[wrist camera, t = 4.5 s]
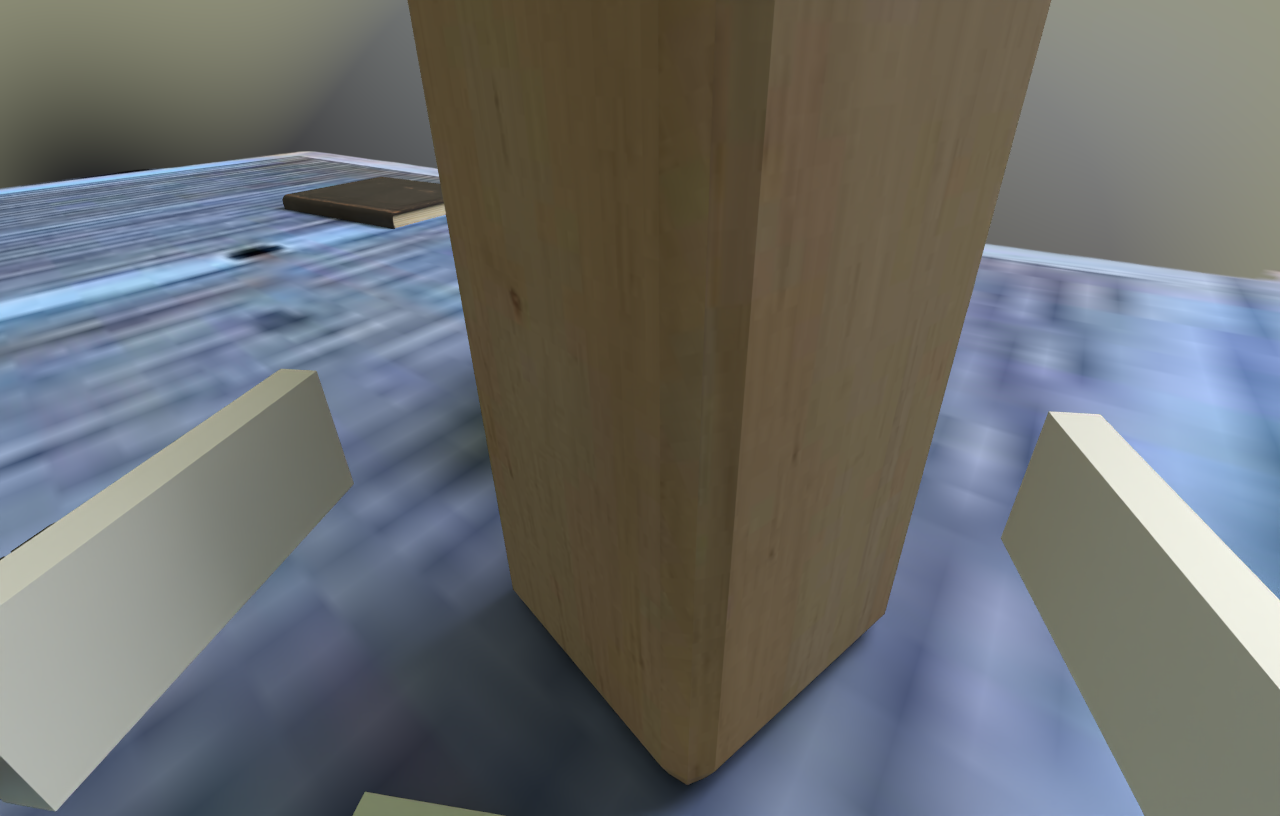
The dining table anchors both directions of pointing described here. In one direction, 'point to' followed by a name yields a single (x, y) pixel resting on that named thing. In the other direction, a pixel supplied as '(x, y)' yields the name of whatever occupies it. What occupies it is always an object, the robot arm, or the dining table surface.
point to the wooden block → (715, 315)
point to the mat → (407, 807)
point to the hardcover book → (373, 201)
